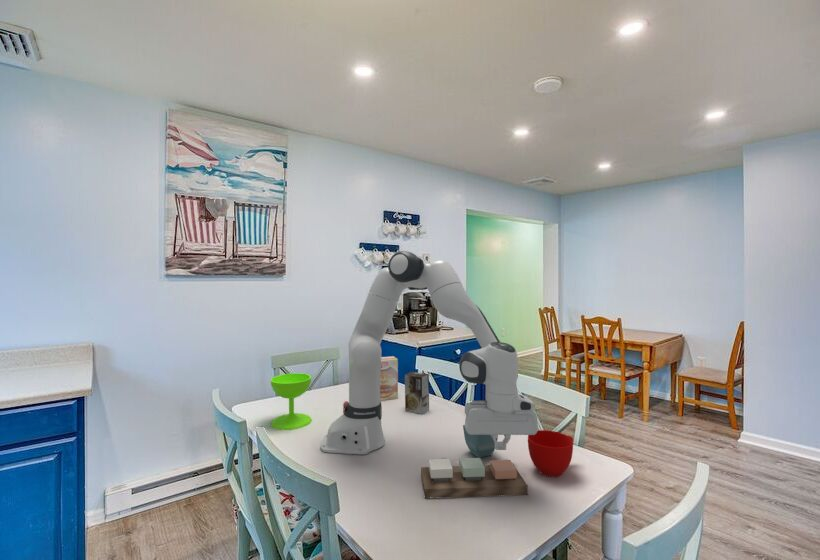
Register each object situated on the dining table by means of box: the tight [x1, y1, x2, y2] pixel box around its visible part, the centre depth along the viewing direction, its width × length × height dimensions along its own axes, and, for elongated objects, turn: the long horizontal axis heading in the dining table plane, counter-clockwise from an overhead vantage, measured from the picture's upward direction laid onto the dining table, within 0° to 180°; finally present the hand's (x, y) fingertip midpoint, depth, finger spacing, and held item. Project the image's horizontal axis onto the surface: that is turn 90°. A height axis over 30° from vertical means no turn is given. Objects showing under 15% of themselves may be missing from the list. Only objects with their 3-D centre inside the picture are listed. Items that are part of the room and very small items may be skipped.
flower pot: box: [462, 424, 499, 459], centre depth 132 cm, size 9×9×9 cm
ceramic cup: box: [527, 429, 574, 478], centre depth 121 cm, size 13×17×10 cm
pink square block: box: [489, 459, 518, 480], centre depth 113 cm, size 6×6×5 cm
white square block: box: [428, 458, 453, 482], centre depth 112 cm, size 6×6×5 cm
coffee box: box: [404, 371, 430, 415], centre depth 173 cm, size 9×6×16 cm
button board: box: [420, 463, 529, 499], centre depth 112 cm, size 28×12×2 cm, turn 93°
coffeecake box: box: [380, 355, 399, 402], centre depth 191 cm, size 15×7×20 cm, turn 111°
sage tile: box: [458, 457, 485, 481], centre depth 112 cm, size 6×6×5 cm
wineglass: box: [270, 372, 313, 431], centre depth 161 cm, size 16×16×18 cm
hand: (500, 449), depth 112 cm, fingers closed
